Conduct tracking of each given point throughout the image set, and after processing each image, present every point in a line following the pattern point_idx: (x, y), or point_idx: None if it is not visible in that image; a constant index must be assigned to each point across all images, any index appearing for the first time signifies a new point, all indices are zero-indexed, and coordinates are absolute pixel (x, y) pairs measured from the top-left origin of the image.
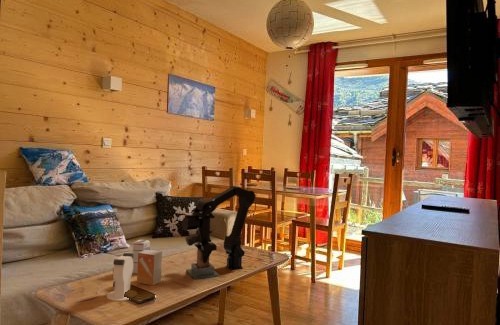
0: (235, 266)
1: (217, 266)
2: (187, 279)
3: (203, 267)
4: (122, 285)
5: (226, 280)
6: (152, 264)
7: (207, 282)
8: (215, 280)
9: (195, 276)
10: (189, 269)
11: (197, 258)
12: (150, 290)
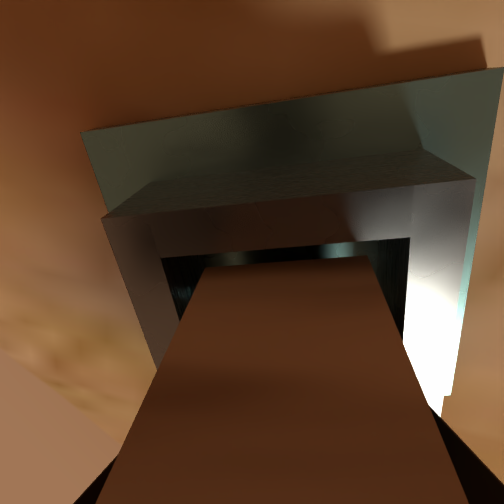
0: None
1: (486, 447)
2: (86, 28)
3: (168, 325)
4: None
5: (74, 399)
6: None
7: (4, 254)
8: (69, 331)
9: (121, 160)
10: (481, 126)
11: (374, 362)
12: None
